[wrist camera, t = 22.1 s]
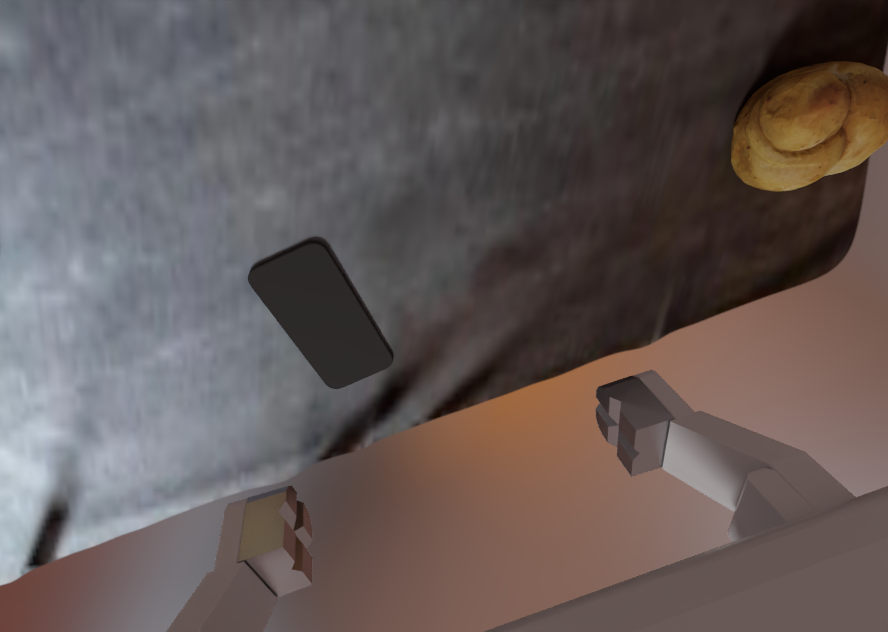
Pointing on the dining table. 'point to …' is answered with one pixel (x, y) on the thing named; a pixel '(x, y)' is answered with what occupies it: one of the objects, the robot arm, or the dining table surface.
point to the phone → (321, 314)
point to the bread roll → (810, 125)
